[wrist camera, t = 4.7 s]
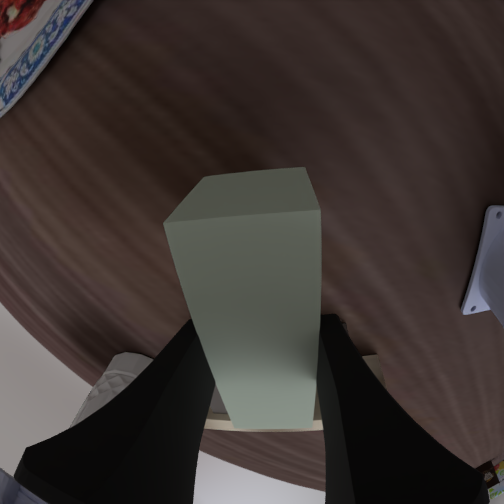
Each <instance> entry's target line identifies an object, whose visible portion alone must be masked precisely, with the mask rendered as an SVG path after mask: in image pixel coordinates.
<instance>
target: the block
mask: <svg viewBox="0 0 504 504" xmlns="http://www.w3.org/2000/svg"><path fill="white" fill-rule="evenodd" d="M163 225H164V229H165V232H166V236H167V240H168V243H169V247H170V250H171V254H172V257H173V261H174V264H175V267H176V271H177V274H178V277H179V281H180V284H181V287H182V290H183V293H184V296H185V299H186V303H187V306H188V309H189V312H190V315H191V318H192V321H193V323H194V326H195V329H196V332H197V334H198V336H199V339H200V342H201V344H202V347H203V350H204V353H205V355H206V358H207V361H208V363H209V366H210V369H211V371H212V374H213V376H214V379H215V382H216V386H217V388H218V391H219V393H220V395H221V398H222V400H223V403H224V405H225V408H226V410H227V412H228V415H229V417H230V419H231V422H232V424H233V426H234V428H239V429H298V428H312V425H313V416H314V406H315V395H316V377H317V362H318V345H319V330H320V313H321V209H320V207H319V204H318V201H317V198H316V195H315V193H314V190H313V187H312V185H311V182H310V179H309V177H308V174H307V171H306V169H305V167H296V168H282V169H270V170H259V171H248V172H239V173H230V174H221V175H213V176H206V177H203V178H202V180H201V181H200V182H199V183H198V184H197V185H196V186H195V187H194V188H193V189H192V191H191V192H190V193H189V194H188V195H187V196H186V197H185V198H184V200H183V201H182V202H181V203H180V204H179V205H178V206H177V208H176V209H175V210H174V211H173V212H172V213H171V215H170V216H169V217H168V218H167V219H166V220H165V222H164V223H163Z"/></svg>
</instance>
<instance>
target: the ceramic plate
mask: <svg viewBox="0 0 504 504" xmlns="http://www.w3.org/2000/svg"><path fill="white" fill-rule="evenodd" d="M92 2H93V0H0V118H1V117H2V116H3V115H4V114H5V113H6V112H7V111H8V110H10V109H11V108H12V107H13V106H14V104H15V103H16V102H17V101H18V100H19V99H20V98H21V97H22V96H23V94H24V93H25V92H26V91H27V89H28V88H29V87H30V86H31V85H32V83H33V82H34V81H35V80H36V78H37V77H38V76H39V74H40V73H41V72H42V71H43V69H44V68H45V67H46V65H47V64H48V63H49V61H50V60H51V58H52V57H53V56H54V54H55V53H56V52H57V50H58V49H59V48H60V46H61V45H62V44H63V42H64V41H65V40H66V39H67V37H68V36H69V34H70V33H71V31H72V30H73V28H74V27H75V25H76V24H77V22H78V21H79V20H80V18H81V17H82V16H83V14H84V13H85V12H86V10H87V9H88V7H89V6H90V5H91V3H92Z"/></svg>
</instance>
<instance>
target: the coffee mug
mask: <svg viewBox="0 0 504 504" xmlns="http://www.w3.org/2000/svg"><path fill="white" fill-rule="evenodd" d="M476 470H478V471H479V472H481V473H482V474H483V477H484V480H485V482H486V485H487V489H488V490H489V489H491V488H492V487H494V486H496V485H497V484H499V483H500V481H499V479H498V476H497V474H496V471H495V469H494V467H493V464H492V462H491V461H489V462H487V463H485V464H483V465H481V466H479V467H478V468H476Z"/></svg>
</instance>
